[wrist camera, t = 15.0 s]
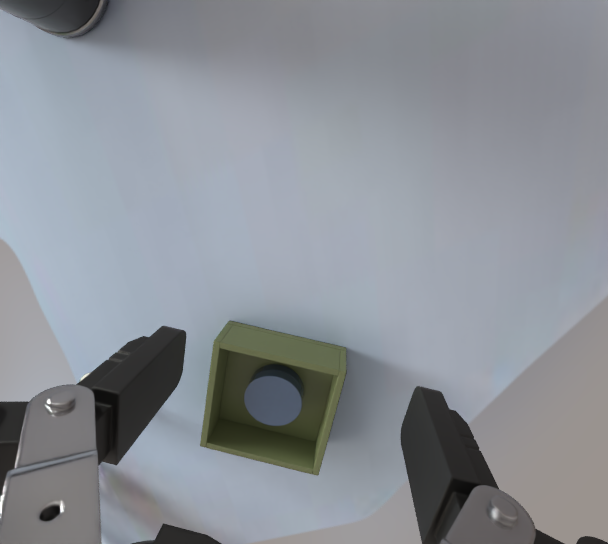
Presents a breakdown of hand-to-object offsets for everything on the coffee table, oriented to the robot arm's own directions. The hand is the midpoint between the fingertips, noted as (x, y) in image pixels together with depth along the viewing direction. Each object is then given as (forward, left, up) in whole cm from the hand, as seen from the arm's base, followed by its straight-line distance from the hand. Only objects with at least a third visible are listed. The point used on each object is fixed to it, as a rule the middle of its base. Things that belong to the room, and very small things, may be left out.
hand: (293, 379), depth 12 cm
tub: (-2, -18, -24) cm, 30 cm away
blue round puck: (-2, -18, -23) cm, 30 cm away
